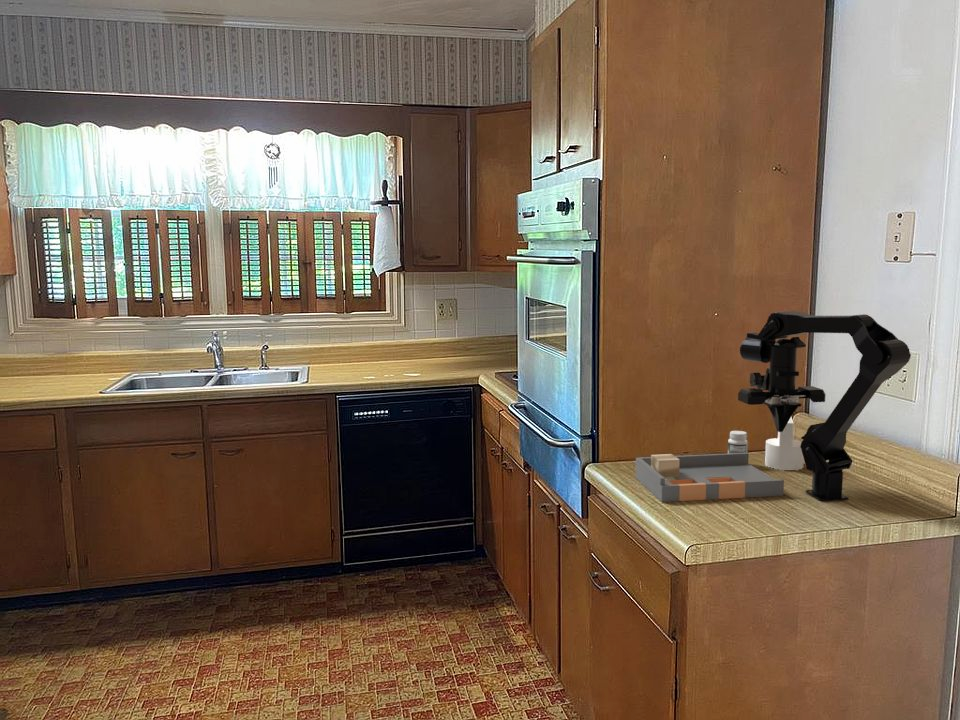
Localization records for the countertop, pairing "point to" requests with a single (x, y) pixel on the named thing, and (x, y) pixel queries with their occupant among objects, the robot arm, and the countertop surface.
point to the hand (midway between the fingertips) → (779, 431)
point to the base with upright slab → (784, 450)
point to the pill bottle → (737, 442)
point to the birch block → (665, 465)
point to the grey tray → (709, 478)
